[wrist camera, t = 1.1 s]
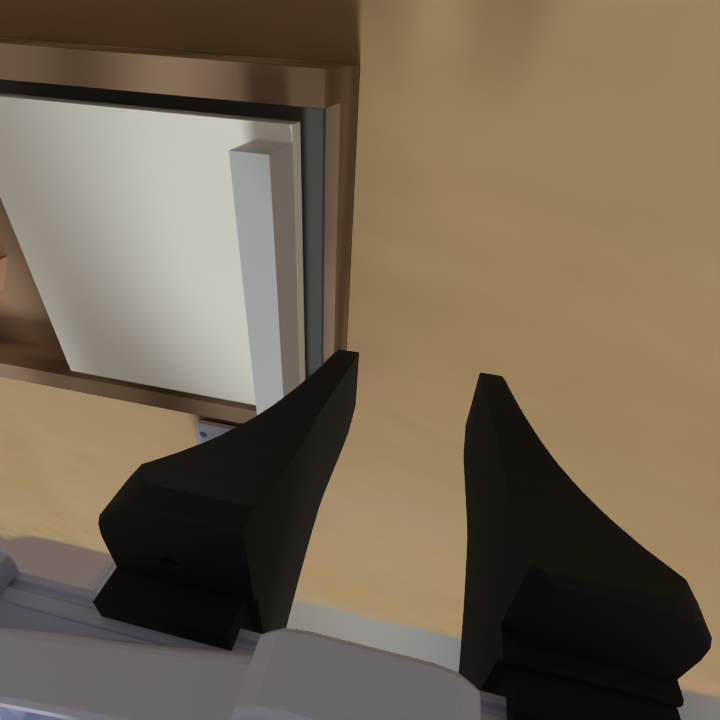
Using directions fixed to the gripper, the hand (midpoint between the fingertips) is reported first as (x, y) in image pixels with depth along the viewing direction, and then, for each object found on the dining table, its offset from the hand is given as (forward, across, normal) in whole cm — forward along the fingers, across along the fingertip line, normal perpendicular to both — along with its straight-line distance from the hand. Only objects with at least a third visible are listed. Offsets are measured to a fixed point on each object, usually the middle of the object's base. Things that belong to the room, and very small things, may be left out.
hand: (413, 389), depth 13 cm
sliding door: (+5, +11, 0) cm, 12 cm away
